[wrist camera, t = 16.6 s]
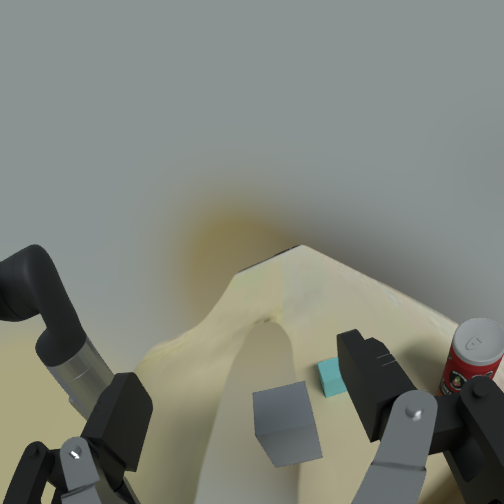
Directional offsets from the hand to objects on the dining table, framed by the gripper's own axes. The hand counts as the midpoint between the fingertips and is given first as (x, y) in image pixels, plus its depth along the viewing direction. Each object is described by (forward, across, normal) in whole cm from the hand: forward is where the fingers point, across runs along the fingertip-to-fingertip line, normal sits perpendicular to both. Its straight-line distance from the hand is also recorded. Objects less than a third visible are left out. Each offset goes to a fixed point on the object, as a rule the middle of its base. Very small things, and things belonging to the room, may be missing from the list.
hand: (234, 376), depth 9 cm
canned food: (+9, -25, +25) cm, 37 cm away
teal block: (+21, -9, +25) cm, 34 cm away
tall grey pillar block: (+12, -1, +26) cm, 29 cm away
